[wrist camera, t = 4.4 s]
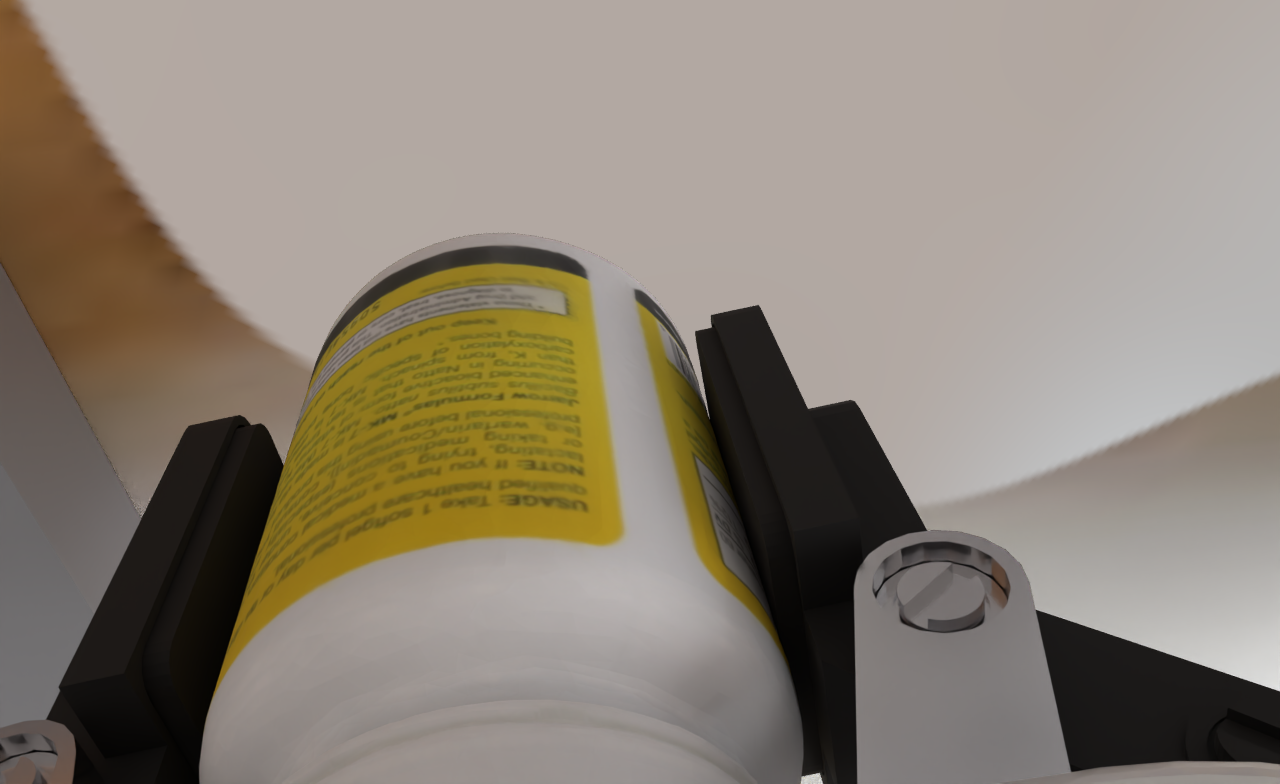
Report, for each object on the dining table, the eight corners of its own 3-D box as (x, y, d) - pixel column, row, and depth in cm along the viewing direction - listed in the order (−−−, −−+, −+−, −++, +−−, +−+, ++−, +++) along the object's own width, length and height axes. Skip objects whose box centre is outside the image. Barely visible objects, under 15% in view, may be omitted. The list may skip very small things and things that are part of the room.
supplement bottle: (253, 452, 14) (-40, 1221, 6) (432, 147, 12) (314, 724, 5) (568, 592, 15) (624, 1323, 8) (766, 343, 14) (1060, 988, 6)
